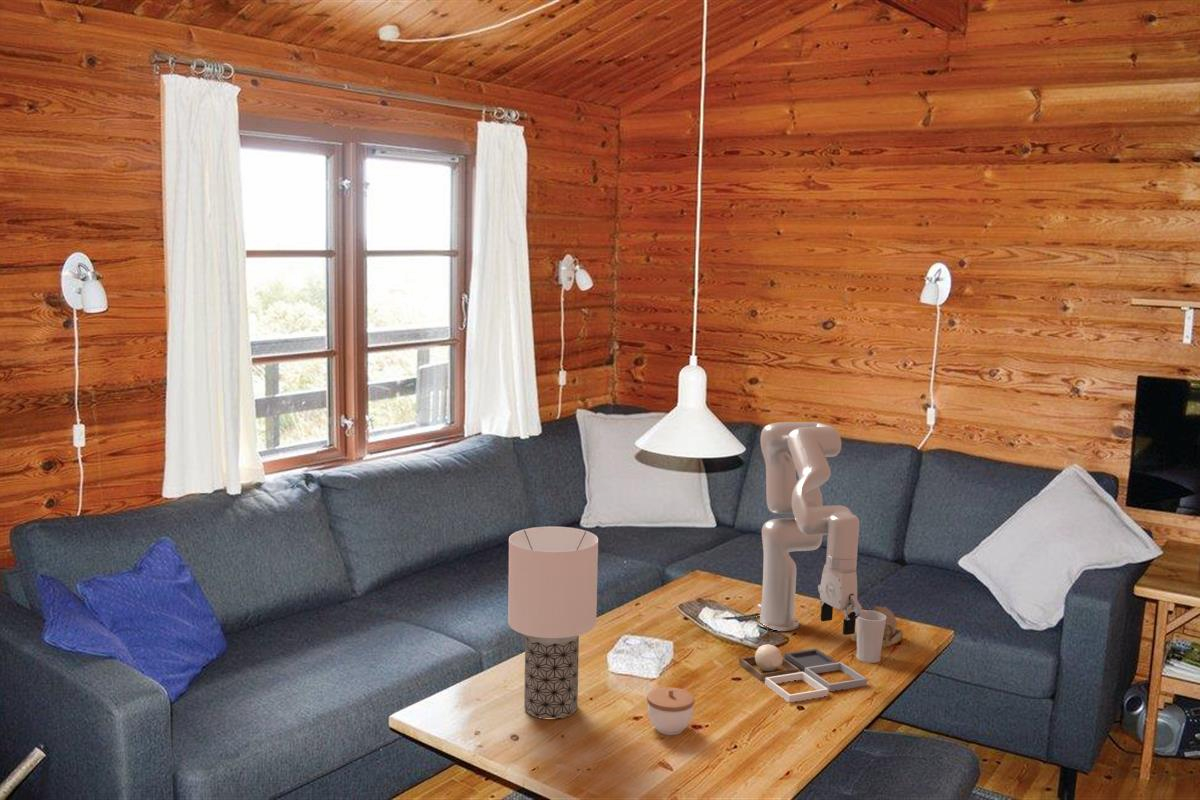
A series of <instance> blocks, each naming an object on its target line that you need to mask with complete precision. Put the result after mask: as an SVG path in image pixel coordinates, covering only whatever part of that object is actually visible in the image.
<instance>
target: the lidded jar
mask: <svg viewBox="0 0 1200 800" xmlns="http://www.w3.org/2000/svg"><path fill="white" fill-rule="evenodd" d="M646 700H647V701H646V702H647V714H648V718H649V721H650V723H651V724H652V726H653V727H654V728H655V729H656V731H657V732H658V733H660V734H662V735H667V736H674V735H679V734H681V733H682V732H683V731H684V730H685V729H686V728H687V727H688V726H689V725H690V723H691V721H692V718H693V714H694V705H695V697H694V695H693V694H692V693H691V692H689V691H688V690H685V689H683V688H679V687H670V686H668V687H667V686H666V687H658V688H654V689H652V690H650V691H649V692H648V694H647V696H646Z"/></svg>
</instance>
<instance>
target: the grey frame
mask: <svg viewBox="0 0 1200 800" xmlns="http://www.w3.org/2000/svg"><path fill="white" fill-rule="evenodd" d="M837 662H838V663H831V664H825V665H819V666H812V667H806V668H805V669H804V673H806V674H807V675H808V676H810V677H811V678H813V679H814V680H816V681H817V682H819V683H820V684H821V685H823V686H824V687H826V688H827V689H828V692H829V691H831V692H836V691H835V690H837V691H842V690H841V689H843V690H848V689H853V688H855V689H856V688H860V687H864V686H865V687H866V686H867V683H868V682H867V681H868V679H867V678H866V677H865V676H863V675H862V674H860V673H859V672H857V671H856V670H854V669H852V668H851V667H849V666H848V665H846V664H845V663H844V662H842V661H840V662H839V661H837ZM834 671H841V672H843V674H846V675H847V676H849V677H851V678H852V679H851V680H844V681H838V682H832V683H830V682H829V681H827V680H825V679H824V678H823V677H822V676H820V675H819V674H822V673H828V672H834Z"/></svg>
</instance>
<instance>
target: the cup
mask: <svg viewBox="0 0 1200 800" xmlns="http://www.w3.org/2000/svg"><path fill="white" fill-rule="evenodd" d="M885 623H886V616H885V615H884V614H882V613H880V612H876V611H872V610H866V609H865V610H861V611H860V615H859V616H858V617H857V619H856V621H855V628H856V632H857V642H856V656H855V657H857V658H856V659H857V660H858V659H859V660H858V661H860V662H863V663H869V664H870V663H871V664H872V663H873V664H874V663H879V662H880V661H881V656H882V642H883V635H884V629H885Z"/></svg>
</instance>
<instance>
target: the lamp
mask: <svg viewBox="0 0 1200 800" xmlns="http://www.w3.org/2000/svg"><path fill="white" fill-rule="evenodd" d="M598 562H599V538H598V536H597V534H594V533H593V532H590V531H588V530H584V529H581V528H576V527H567V526H536V527H530V528H529V527H528V528H525V529H521V530H518V531H514V532H513V533H512V534H510V536H509V537H508V583H507V584H508V585H507V586H508V593H507V594H508V595H507V596H508V597H507V599H508V601H507V602H508V605H507V607H508V608H507V617H508V618H507V624H508V626H509V627H510V628H511V629H512V630H513V631H515V632H516V633H519V634H521V635H524V636H525V637H524V692H523V693H524V700H523V701H524V706H523V707H524V710H525V711H526V713H527V714H528V715H530V714H531V715H530V716H532V715H534V716H536V717H535V718H537V717H541V718H561V719H563V718H562V717H565V718H567V717H566V716H568V717H569V715H570V716H571V714H572V715H574V713H575V712H576V711H577V709H578V703H579V702H578V700H579V699H578V697H579V696H578V695H579V690H578V689H579V656H580V655H579V652H580V651H579V649H580V648H579V647H580V645H579V644H580V641H579V639H580V635H584V634H586V633H589V632H590V631H592V630H593V629H594V628H595V627H596V625H597V603H598V601H597V600H598ZM534 716H533V717H534ZM541 718H540V719H541Z"/></svg>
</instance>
